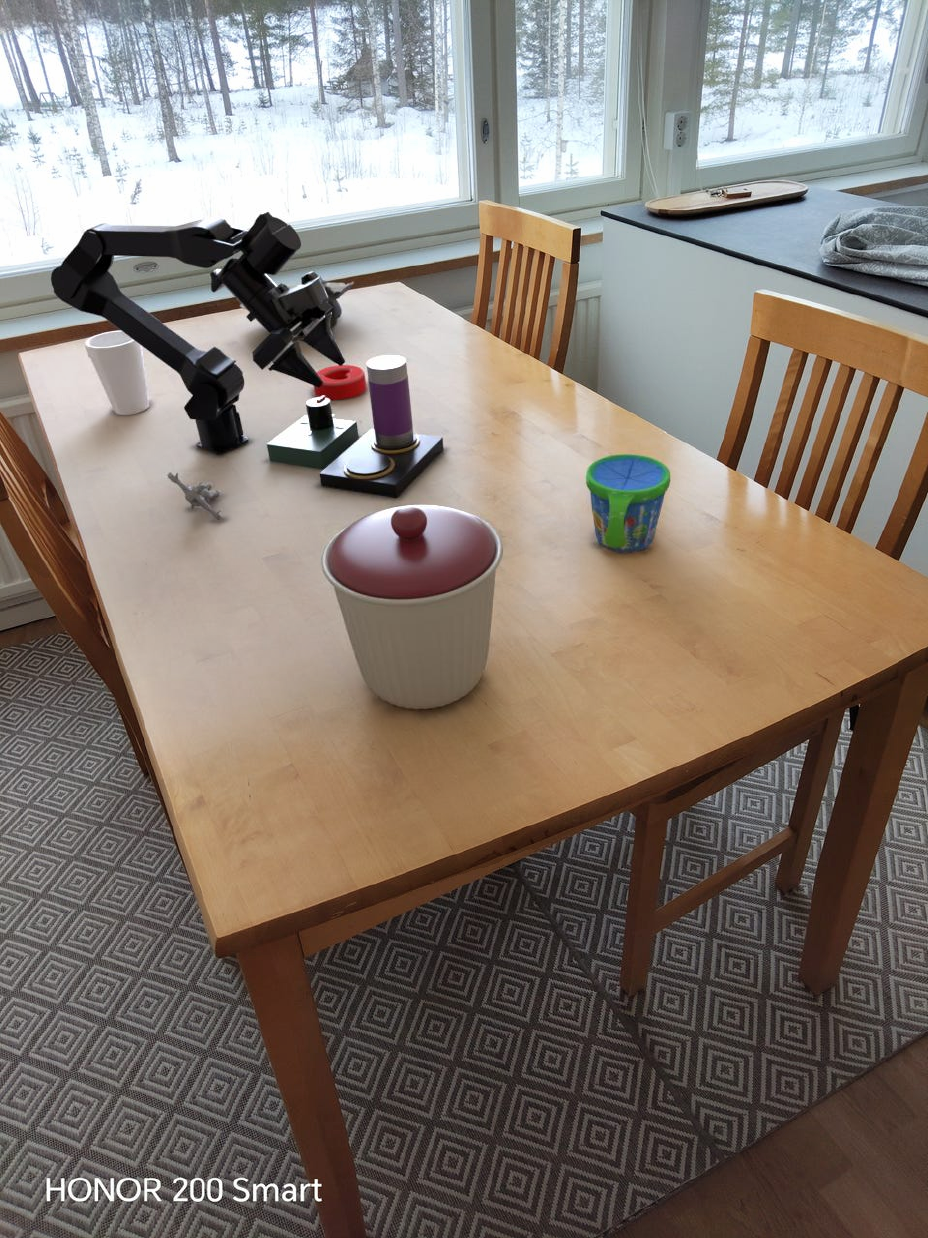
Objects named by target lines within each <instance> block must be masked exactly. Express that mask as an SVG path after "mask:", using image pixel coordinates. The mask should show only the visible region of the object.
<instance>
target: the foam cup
mask: <svg viewBox="0 0 928 1238" xmlns="http://www.w3.org/2000/svg"><path fill="white" fill-rule="evenodd" d="M83 344H84V347H85V350H86V352H87V353H86V354H87V357H88V358H89V359H90V361H91V363H92V365H93V367H94V369H95V372H96V374H97V377H98V378H99V380H100V383H101V385H102V388H103V390H104V392H105V394H106V396H107V398H108V400H109V403H110V405H111V408H112V409H113V412H114V413H115V414H116V415H121V416H130V415H135V414H140V413H141V412H144V411H146V410H147V409H149V407H150V399H149V391H148V384H147V383H148V382H147V376H146V368H145V361H144V354H143V353H144V352H143V348H144V347H143V346H141V345H140V344H139V343H137V342H136V341H135V340H133V339H132V338H131V337H129V336H128V335H126V334H125V333H124V332H122V331H121V330H120V329H119V330H112V331H106V332H102V333H99V334H96V335H95V334H94V335H93V336H91V337H89V338H87V339H86V340H85V342H84V343H83Z"/></svg>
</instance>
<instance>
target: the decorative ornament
mask: <svg viewBox="0 0 928 1238" xmlns="http://www.w3.org/2000/svg"><path fill="white" fill-rule="evenodd" d="M316 372H317V374H318V375H319V376H320V378H321V379H322V381H323V385H322V386H321V387H319V388H318V387H316V386H313V388H314V394H315V396H317V397H321V396H325V398H328V399H330V401H339V400H346V399H347V400H348V399H351V398H352V399H353V398H355V397H357V396H360V395H362V394H363V393H365V391H366V390H367V382H366V381H367V380H366V374H365V370H364V369H363V368H361V367H359V366H356V365H352V364H343V365H342V366H340V365H338V364H337V365H332V366H331V365H330V366H328V367H324V368H321V369H320V370H317V371H316Z"/></svg>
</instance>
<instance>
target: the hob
mask: <svg viewBox="0 0 928 1238" xmlns="http://www.w3.org/2000/svg"><path fill="white" fill-rule="evenodd" d="M444 449H445V448H444V439H443V437H442V436H435V435H433V436H432V435H426V434H417V433H414V432H413V440H412V441H411V442H409V443H407V444H405V445H401V446H394V447H388V446H382V445H380V444H378V443H377V442H376V437H375V430H374V428H370V429H369V430H368V431H366V432H365V433H364V434H363V435H362V436H361V437H359V438H358V439H357V440H356V441H355V442H353V443H352V444H351V445H350V446H349V447H348V448H347V449H345V450H344V451H343V452H342V453H341V454H340V455H338V456H337V457H336V458H335V459H334V460H333V461H331V462H330V463H329V464H328V465H327V466H326V467H325V468H323V469H322V471H320V472H319V475H318V476H319V481H320V486H321V487H325V488H331V489H338V490H342V491H350V492H357V493H363V494H369V495H376V496H382V497H387V498H389V497H390V498H395V499H397V498H398V497H400V495H401V494H402V493H404V492H405V491H406V490H407V488H408V487H409V486H410V485H411V484H412V483H414V481H415V480H416V479H417V478H418V477H419V476H420V475H421V474H423V472H424V471H425V470H426V469H427V468H428V466H429V465H431V464H432V462H433V461H435V459H436V458H438V456H439V455H440V454H441V453H442V452H443V451H444Z"/></svg>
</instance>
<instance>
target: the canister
mask: <svg viewBox="0 0 928 1238" xmlns="http://www.w3.org/2000/svg"><path fill="white" fill-rule="evenodd" d="M503 554H504V544H503V540H502V538H501V535H500V534H499V533H498V531H497V530H496V529H495V528H494V527H493V525H491V524H490V523H489V522H487V521H486V520H484V519H483V518H481V517H479V516H477V515H474V514H472V513H469V512H466V511H464V510H463V511H462V510H459V509H456V508H453V507H449V506H443V505H435V504H407V505H400V506H394V507H388V508H384V509H382V510H381V509H380V510H378V511H375V512H373V513H370V514H367V515H365V516H363V517H360V518H359V519H357V520H355V521H354V522H352V523H350V524H348V525H347V526H345V527H344V528H342V529H340V530H339V531H338V532H337V533H336V534H335V535H333V536H332V538H330V540H329V541H328V543H327V544H326V546H325V547H324V549H323V552H322V554H321V557H320V558H321V561H320V563H321V564H320V565H321V570H322V573H323V575H324V577H325V579H326V580H327V581H328V582H329V583H330V585H331V586H333V590H334V592H335V596H336V600H337V603H338V605H339V608H340V613H341V615H342V619H343V622H344V623H343V624H344V625H345V630H346V632H347V635H348V639H349V642H350V645H351V647H352V651H353V654H354V657H355V660H356V663H357V666H358V669H359V672H360V674H361V676H362V679H363V680H364V681H365V683H366V686H367V687H368V688H369V690H371V691H372V692H373V694H374V695H375V696H377V697H378V698H380V699H381V700H382V701H384V702H387V703H388V704H390V705H393V706H396V707H398V708H405V709H407V710H408V709H412V710H413V709H414V710H427V709H436V708H439V707H444V706H447V705H451V704H452V703H454V702H457V701H459V700H460V699H461V698H462V697H465V696H467V695H468V693H470V692H471V691H473V690H474V688H475V687H476V685H478V684H479V682H480V680H481V678H482V676H483V675H484V672H485V670H486V665H487V663H488V658H489V649H490V639H491V630H492V620H493V609H494V608H493V607H494V597H495V587H496V586H495V584H496V572H497V569H498V567H499V566H500V563H501V561H502V558H503V556H504V555H503Z"/></svg>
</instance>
